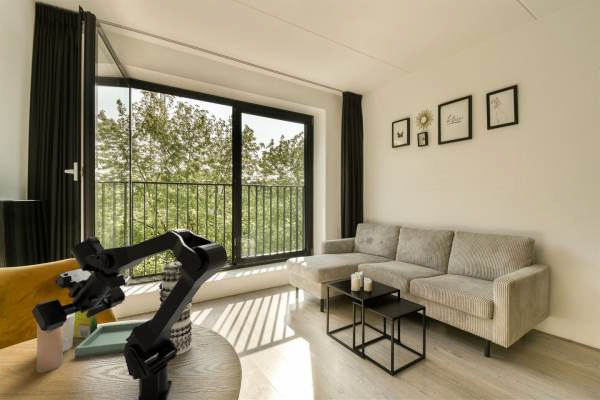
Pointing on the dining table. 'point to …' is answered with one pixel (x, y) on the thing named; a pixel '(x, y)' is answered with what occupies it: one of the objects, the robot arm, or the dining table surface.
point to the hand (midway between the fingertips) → (68, 323)
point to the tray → (106, 340)
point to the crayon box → (84, 324)
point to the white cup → (68, 332)
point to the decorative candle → (183, 323)
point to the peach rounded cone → (49, 349)
